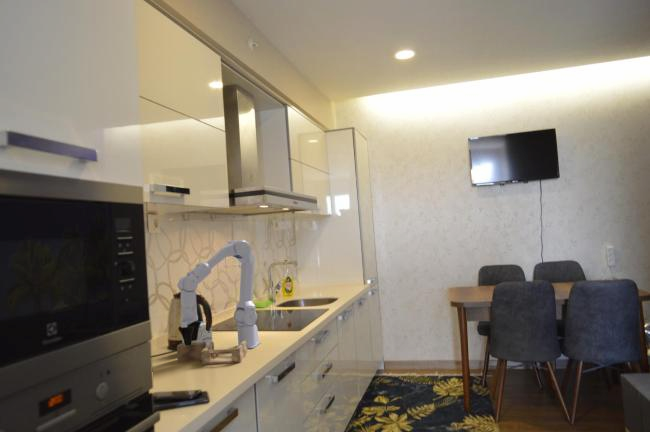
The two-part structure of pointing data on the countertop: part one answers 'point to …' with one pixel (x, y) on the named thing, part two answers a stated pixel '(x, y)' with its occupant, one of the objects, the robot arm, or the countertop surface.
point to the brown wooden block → (190, 351)
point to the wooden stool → (223, 354)
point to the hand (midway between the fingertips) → (191, 342)
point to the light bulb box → (203, 334)
